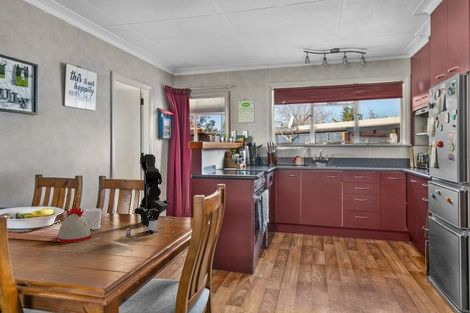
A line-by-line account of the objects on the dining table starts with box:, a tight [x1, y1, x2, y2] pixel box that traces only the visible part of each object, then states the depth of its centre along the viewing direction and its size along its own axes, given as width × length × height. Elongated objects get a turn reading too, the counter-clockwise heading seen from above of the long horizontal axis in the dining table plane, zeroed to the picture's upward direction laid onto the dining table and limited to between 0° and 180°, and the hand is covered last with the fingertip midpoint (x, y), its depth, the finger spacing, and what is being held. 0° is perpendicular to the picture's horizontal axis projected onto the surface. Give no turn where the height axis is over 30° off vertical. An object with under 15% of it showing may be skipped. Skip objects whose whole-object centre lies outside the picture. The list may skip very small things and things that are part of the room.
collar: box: [144, 219, 159, 231], centre depth 154 cm, size 6×6×4 cm
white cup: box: [85, 208, 103, 231], centre depth 162 cm, size 8×8×10 cm
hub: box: [120, 227, 137, 240], centre depth 144 cm, size 7×7×5 cm
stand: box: [140, 229, 161, 236], centre depth 154 cm, size 7×7×6 cm
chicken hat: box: [57, 206, 92, 244], centre depth 143 cm, size 14×14×15 cm
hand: (151, 225), depth 154 cm, fingers closed on collar, 6 cm apart
